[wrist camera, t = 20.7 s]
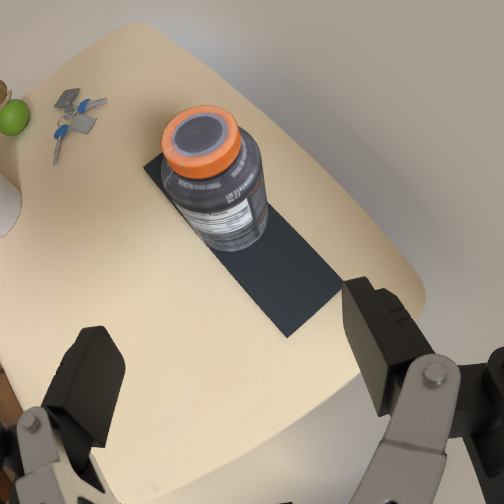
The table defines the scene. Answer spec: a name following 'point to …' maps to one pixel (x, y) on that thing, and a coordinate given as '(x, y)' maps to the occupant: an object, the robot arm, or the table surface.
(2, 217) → the coffee cup
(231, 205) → the pill bottle
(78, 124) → the key chain
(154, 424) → the table surface
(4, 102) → the snail figurine
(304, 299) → the mat
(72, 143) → the table surface
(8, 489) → the wooden box frame
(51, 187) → the table surface
